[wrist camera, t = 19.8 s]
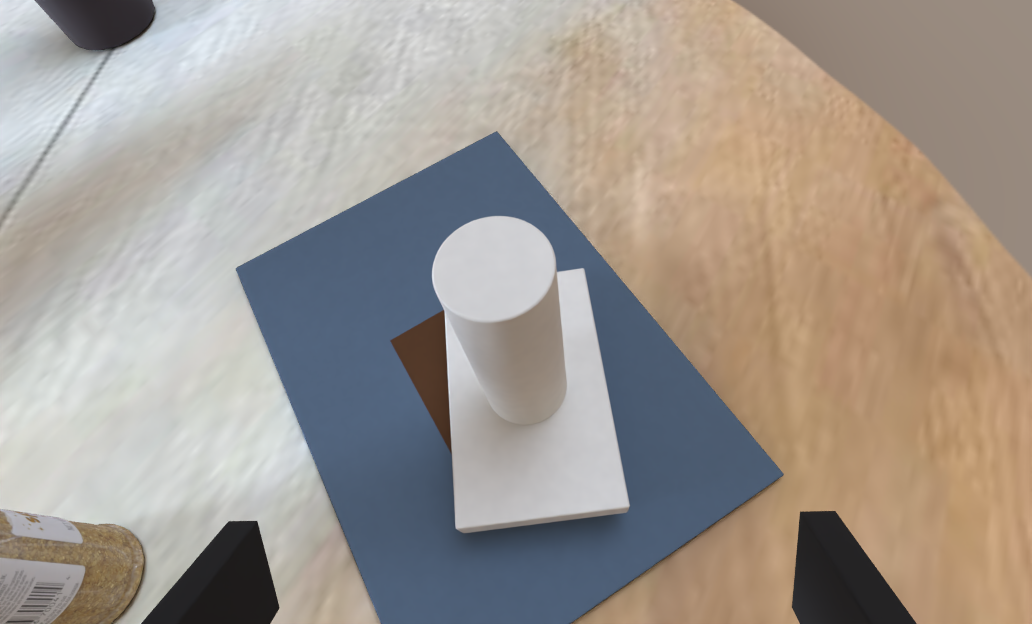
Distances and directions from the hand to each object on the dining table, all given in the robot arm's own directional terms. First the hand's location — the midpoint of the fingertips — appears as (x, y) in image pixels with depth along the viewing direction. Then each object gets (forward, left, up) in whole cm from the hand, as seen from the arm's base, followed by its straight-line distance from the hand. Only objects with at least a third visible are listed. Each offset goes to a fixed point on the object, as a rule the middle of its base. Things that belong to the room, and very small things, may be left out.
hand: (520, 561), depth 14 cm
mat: (-10, +2, -10) cm, 15 cm away
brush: (-6, +3, -10) cm, 12 cm away
